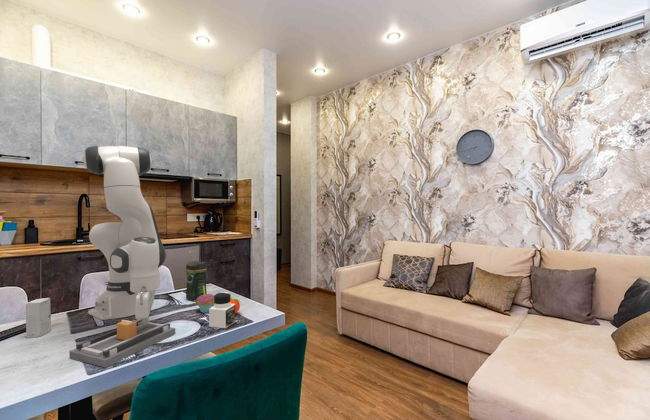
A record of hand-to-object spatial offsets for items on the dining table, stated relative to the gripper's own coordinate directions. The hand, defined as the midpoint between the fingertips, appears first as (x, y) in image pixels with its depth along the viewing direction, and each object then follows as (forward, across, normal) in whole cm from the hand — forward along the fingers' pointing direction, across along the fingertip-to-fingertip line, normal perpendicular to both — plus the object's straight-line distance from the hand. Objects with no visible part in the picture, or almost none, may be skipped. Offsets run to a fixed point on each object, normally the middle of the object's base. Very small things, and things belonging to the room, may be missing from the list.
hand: (145, 323), depth 104 cm
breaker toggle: (+2, -5, +5) cm, 7 cm away
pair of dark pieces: (+2, -5, +5) cm, 7 cm away
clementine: (+5, +9, -31) cm, 32 cm away
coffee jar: (+5, +40, -18) cm, 44 cm away
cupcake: (+5, +19, -21) cm, 29 cm away
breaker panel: (+5, -5, +5) cm, 8 cm away
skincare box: (+5, +19, +35) cm, 40 cm away
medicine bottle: (+5, 0, -26) cm, 26 cm away
